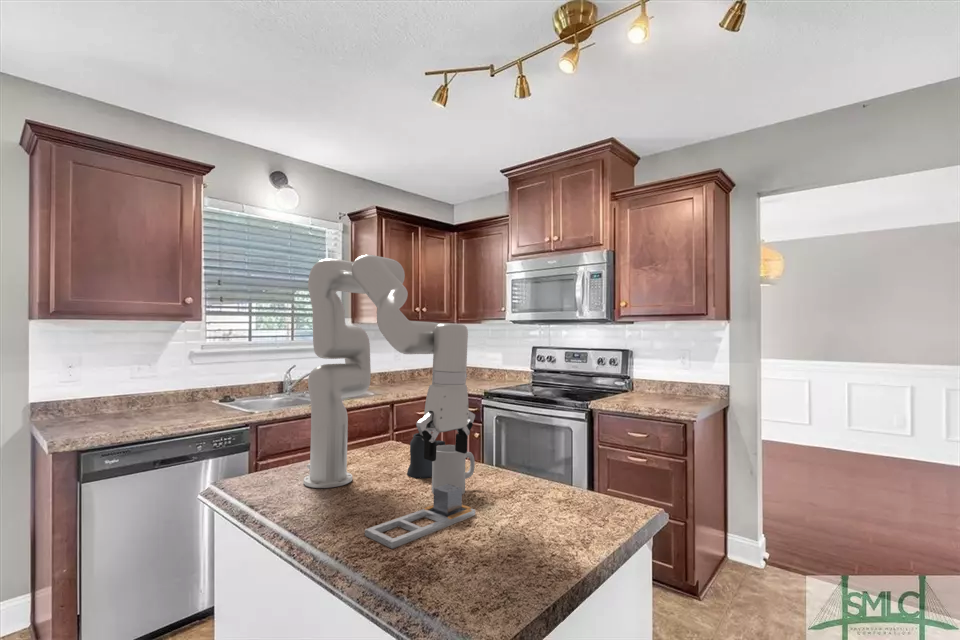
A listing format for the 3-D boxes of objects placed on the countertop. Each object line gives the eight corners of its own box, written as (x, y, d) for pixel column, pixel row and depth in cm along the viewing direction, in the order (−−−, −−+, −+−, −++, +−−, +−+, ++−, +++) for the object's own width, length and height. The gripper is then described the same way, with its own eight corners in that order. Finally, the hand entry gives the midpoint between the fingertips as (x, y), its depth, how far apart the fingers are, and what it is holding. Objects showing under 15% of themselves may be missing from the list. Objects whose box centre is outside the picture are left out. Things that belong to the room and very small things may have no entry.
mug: (442, 499, 115) (443, 453, 115) (425, 490, 122) (426, 447, 122) (482, 491, 122) (483, 447, 122) (464, 482, 129) (465, 441, 129)
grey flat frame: (364, 535, 93) (364, 528, 93) (447, 505, 110) (447, 499, 111) (392, 548, 88) (392, 541, 88) (475, 515, 105) (475, 508, 105)
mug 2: (419, 480, 130) (419, 439, 130) (400, 473, 137) (401, 434, 137) (452, 472, 138) (453, 433, 139) (433, 466, 145) (434, 429, 145)
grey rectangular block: (433, 516, 104) (433, 488, 104) (447, 510, 108) (447, 483, 108) (447, 521, 101) (447, 492, 102) (461, 515, 105) (461, 488, 105)
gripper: (463, 375, 115) (460, 446, 114) (408, 379, 102) (404, 459, 101) (487, 378, 110) (484, 452, 109) (432, 382, 97) (428, 467, 96)
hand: (445, 455), depth 105 cm, fingers open, 9 cm apart
